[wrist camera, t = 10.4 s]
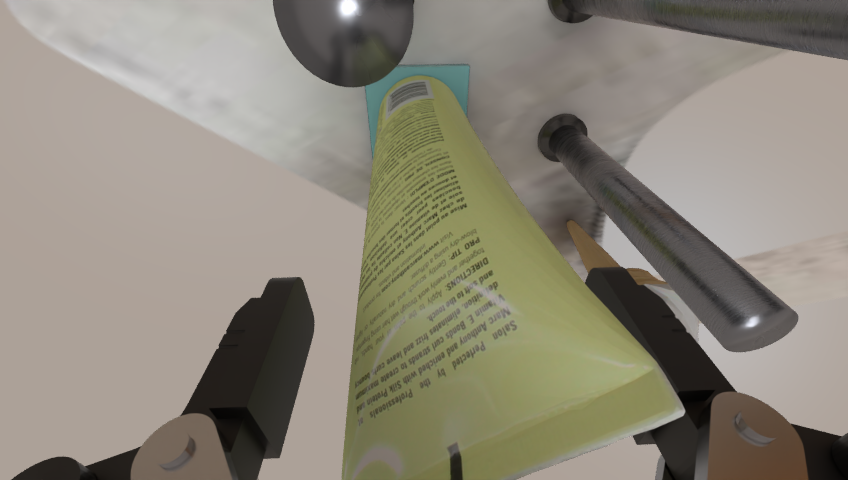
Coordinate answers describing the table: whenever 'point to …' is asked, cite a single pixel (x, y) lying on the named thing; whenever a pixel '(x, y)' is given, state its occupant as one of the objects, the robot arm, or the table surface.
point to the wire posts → (567, 135)
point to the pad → (448, 74)
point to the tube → (476, 320)
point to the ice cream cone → (600, 258)
